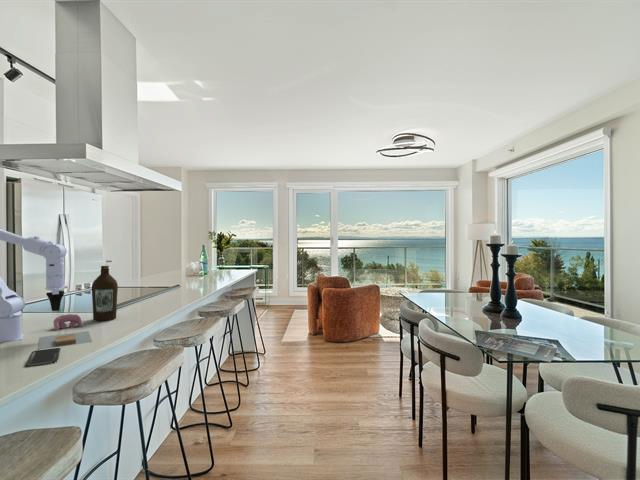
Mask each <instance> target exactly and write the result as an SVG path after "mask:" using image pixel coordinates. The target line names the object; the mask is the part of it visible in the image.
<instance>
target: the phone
mask: <svg viewBox="0 0 640 480" xmlns="http://www.w3.org/2000/svg"><path fill="white" fill-rule="evenodd" d="M61 348H62V347H61ZM61 348H60V347H53V348H46V349H39V350H38V349H37V350H33V351H32V352H31V354H30V355H29V357H28V359H27V361H26V362H25V367H26V368H29V367H30V368H31V367H37V366H44V365H45V364H46V365H52V364H51V363H53V364H56V363H58V361H57V360H59V357H60V354H61ZM55 362H56V363H55Z"/></svg>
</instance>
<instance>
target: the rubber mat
mask: <svg viewBox="0 0 640 480" xmlns="http://www.w3.org/2000/svg"><path fill="white" fill-rule="evenodd" d="M73 334H75V337H76V343H75V344H68V345H61V346H56V343H55V337H57V336H65V335H73ZM92 342H93V340H92V337H91V335H90V331H89V330H87V331H79V332H71V333H69V332H68V333H61V334H55V335H47V336H39V337H38V345H37V350H45V349H53V348H60V347H68V346H73V345H80V344H81V345H82V344H86V343H92Z"/></svg>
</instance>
